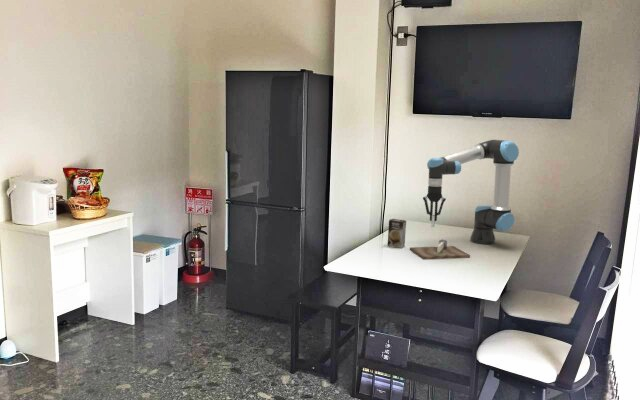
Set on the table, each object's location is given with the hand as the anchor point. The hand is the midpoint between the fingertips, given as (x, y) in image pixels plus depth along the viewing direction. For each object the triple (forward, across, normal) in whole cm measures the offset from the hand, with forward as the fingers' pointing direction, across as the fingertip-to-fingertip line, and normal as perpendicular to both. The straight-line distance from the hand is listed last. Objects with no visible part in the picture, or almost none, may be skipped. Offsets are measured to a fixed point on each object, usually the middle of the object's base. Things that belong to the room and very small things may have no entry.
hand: (432, 226), depth 307 cm
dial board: (+16, +4, +1) cm, 16 cm away
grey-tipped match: (+14, +5, +3) cm, 15 cm away
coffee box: (+16, -22, +8) cm, 28 cm away
